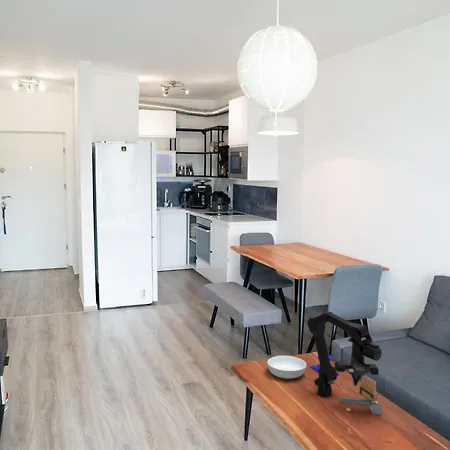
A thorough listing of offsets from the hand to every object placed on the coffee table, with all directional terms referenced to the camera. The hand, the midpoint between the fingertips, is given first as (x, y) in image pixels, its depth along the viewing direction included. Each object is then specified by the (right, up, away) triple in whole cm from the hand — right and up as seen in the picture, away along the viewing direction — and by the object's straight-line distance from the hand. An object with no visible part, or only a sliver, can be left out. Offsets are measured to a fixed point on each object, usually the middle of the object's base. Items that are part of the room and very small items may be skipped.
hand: (355, 385), depth 212 cm
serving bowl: (-27, -8, +39) cm, 48 cm away
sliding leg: (+9, -11, 0) cm, 15 cm away
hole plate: (+3, -13, 0) cm, 13 cm away
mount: (-5, -8, +44) cm, 45 cm away
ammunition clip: (+9, -12, +12) cm, 19 cm away
